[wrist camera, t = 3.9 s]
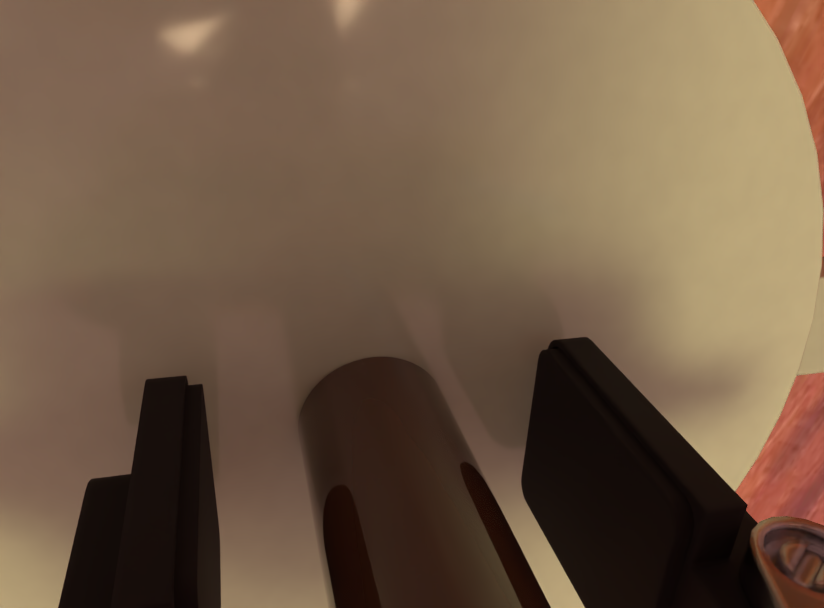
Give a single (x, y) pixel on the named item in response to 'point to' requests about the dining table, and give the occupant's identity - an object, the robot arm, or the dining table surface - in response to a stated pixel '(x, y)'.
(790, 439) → the dining table surface
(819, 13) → the dining table surface
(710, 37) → the lid
